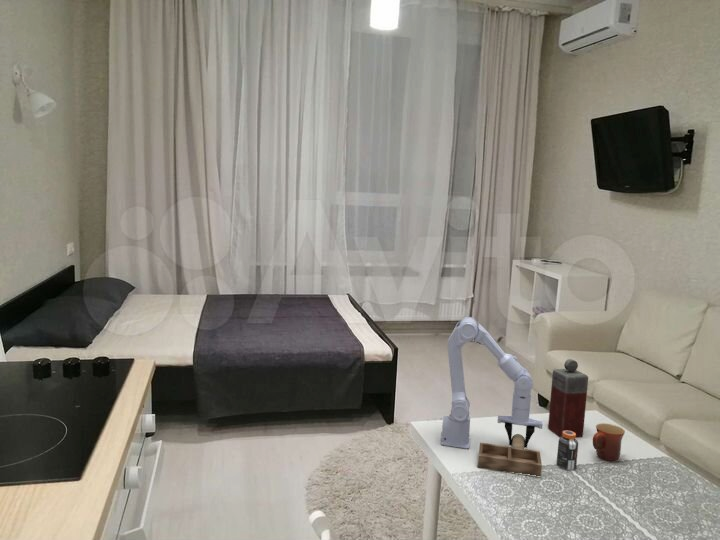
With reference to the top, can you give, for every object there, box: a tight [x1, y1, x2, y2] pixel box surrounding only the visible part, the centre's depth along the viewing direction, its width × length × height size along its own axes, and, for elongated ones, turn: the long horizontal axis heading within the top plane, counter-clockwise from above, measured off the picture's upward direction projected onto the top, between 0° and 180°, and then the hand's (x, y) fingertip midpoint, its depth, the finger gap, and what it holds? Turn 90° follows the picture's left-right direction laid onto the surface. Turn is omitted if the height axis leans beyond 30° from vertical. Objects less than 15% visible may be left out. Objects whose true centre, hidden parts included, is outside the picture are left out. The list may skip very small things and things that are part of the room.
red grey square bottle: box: [547, 358, 589, 439], centre depth 196 cm, size 9×11×28 cm
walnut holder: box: [477, 442, 543, 477], centre depth 169 cm, size 19×10×4 cm, turn 75°
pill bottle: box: [556, 430, 579, 471], centre depth 170 cm, size 6×6×11 cm
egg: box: [510, 433, 526, 449], centre depth 180 cm, size 4×4×6 cm
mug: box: [592, 422, 626, 463], centre depth 176 cm, size 12×9×10 cm
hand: (517, 445), depth 180 cm, fingers closed on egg, 4 cm apart
